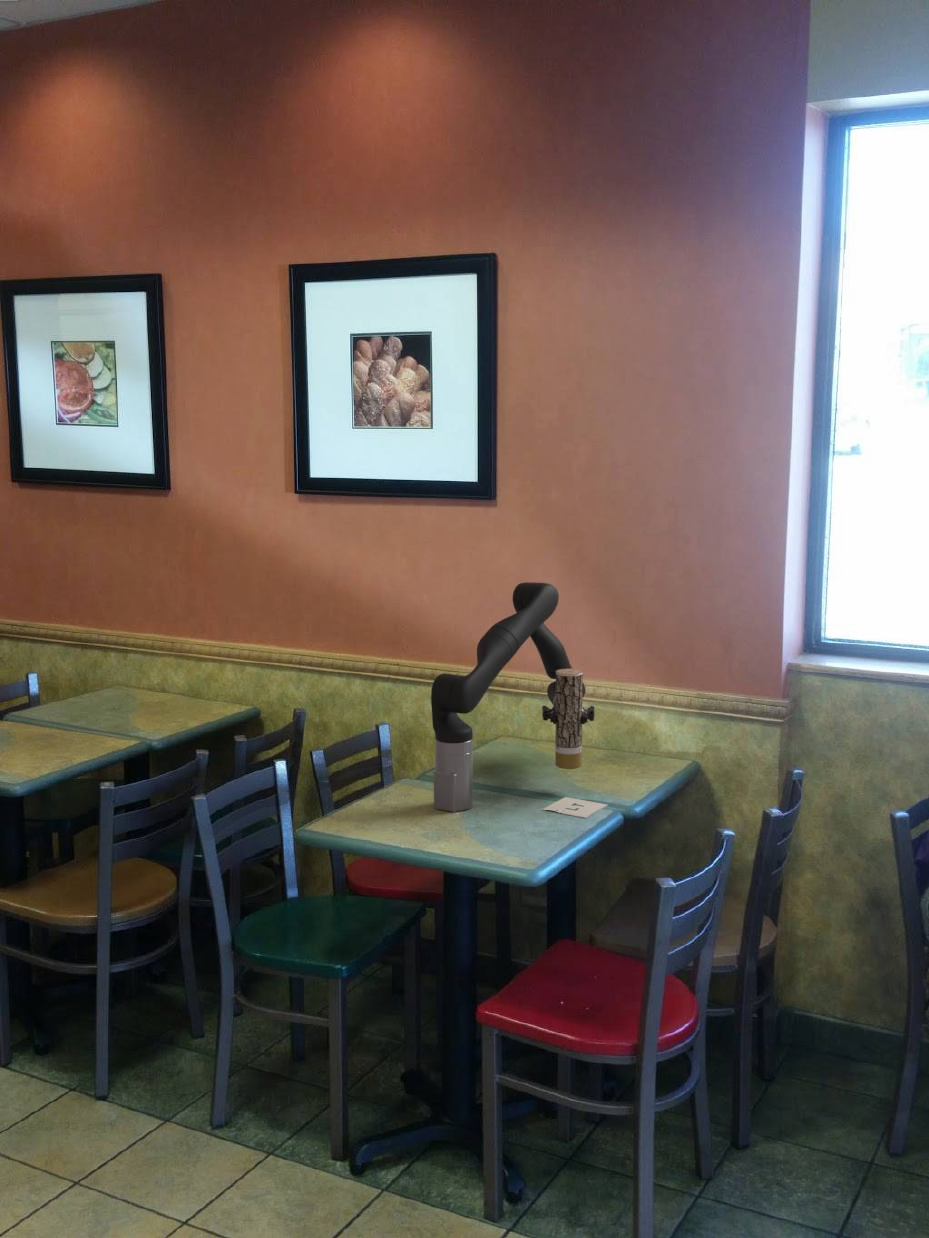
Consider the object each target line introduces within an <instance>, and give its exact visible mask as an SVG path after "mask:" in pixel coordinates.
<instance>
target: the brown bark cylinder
mask: <svg viewBox="0 0 929 1238" xmlns="http://www.w3.org/2000/svg"><path fill="white" fill-rule="evenodd" d="M555 681H556V724H555V741H554V742H555V748H554V749H555V766H556V767H557V768H558V769H562V770H563V769H565V770H575V769H580V767H582V764H583V757H582V756H583V755H582V754H583V753H582V751H583V724H582V707H583V698H582V683H584V682H583V681H584V680H583V670H581V669H576V668H573V669H560V670H557V671H556V679H555Z"/></svg>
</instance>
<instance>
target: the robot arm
mask: <svg viewBox="0 0 929 1238" xmlns="http://www.w3.org/2000/svg"><path fill="white" fill-rule="evenodd" d="M559 597H560V595H559V592H558V589H557V588H556V587H555V586H554V585H553V584H550V583H547V582H529V581H528V582H527V581H526V582H525V581H524V582H520V583H518V584H517V585H516V586H515V588H514V590H513V593H512V605H513V608H514V610H515V613H513V614H512V615H510V616H507V617H505V618H502V619H501V620H499V621H498V622H496V623H494V624H493V625H492V626H491V627H490V628H488V630H487V631H486V632H485V633H484V635H482V637H481V638H480V639H479V641H478V643H477V646H476V647H477V648H476V660H477V663H476V665H475V667H474V668H473V670H472V671H471V672H470V673H469V674H467V675H459V674H451V673H441V674H438V675H437V676H436V677H435V679H434V680H433V682H432V686H431V692H430V695H431V696H430V700H431V702H430V704H431V718H432V729H433V732H434V735H435V741H434V744H435V749H434V750H435V751H434V752H435V754H434V755H435V761H434V762H435V763H434V764H435V770H434V771H433V809H436V810H440V811H441V810H442V811H445V812H446V811H447V812H451V813H456V812H459V811H460V812H461V811H466V810H470V809H472V808H473V805H474V804H473V803H474V802H473V801H474V799H473V797H474V792H473V791H474V790H473V789H474V788H473V787H474V785H473V778H474V776H473V769H474V768H473V766H474V765H473V764H474V763H473V756H474V754H473V753H474V750H473V749H474V748H473V746H474V745H473V743H474V742H473V738H474V736H473V728H472V727H471V726H470V724H468V723H466V722H465V721H464V720H462V719H461V718H460V716H459V715H458V714H469V713H471V712H472V711H474V709H475V708H477V706H478V705H479V704H480V702H481V700H482V699H483V697H484V695H486V693H487V691H488V689H489V688H490V686H491V685H492V683H493V682H494V681H495V679H496V678H497V676H499V674H500V673H501V671H502V670H503V669H504V668H505V667H506V665H507V664H508V663H509V662H510V661H511V660H512V658H513V657H514V656H515V654H517V652H518V651H519V650H520V649H521V647H522V646H523V645H524V643H525V642H527V640H528V639H529V638H531V640H532V642H533V643H534V645H535V647H536V649H537V652H538V654H539V656H540V660H541V662H542V665H543V668H544V670H545V673H546V675H547V677H548V678H549V679H552V680H555V681H552V682H550V683H549V684H548V685H547V689H546V695H547V697H548V700H549V701H550V702H551V704H552V708H550V707H549V706H547V705H542V707H541V711H542V712H541V717H542V720H543V721H545V722H547V721H548V720H549V721H550V723H552V724H553V725H556V671H557V670H560V669H574V668H573V666H572V665H571V663H570V660H569V658H568V655H567V651H566V649H565V646H564V645H563V644H562V642H561V641H560V639H559V638H558V637H557V636H556V635H555V634H554V633H553V632H552V631H551V630H550V629H549V628H548V627H547V625H546V624H545V622H546V621H547V620H548V619H549V618H550V617H552V615H553V614H554V612H555V610H556V609H557V606H558V603H559ZM585 695H586V686H585V684H584V682H583V683H582V699H583V698H584V697H585ZM588 720H589V721H590V722H593V721H594V720H595V706H594V705H591V706H589V707H587V708H585V707H584V706H582V725H586V724H587V723H588V722H589V721H588Z"/></svg>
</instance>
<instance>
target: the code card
mask: <svg viewBox="0 0 929 1238" xmlns="http://www.w3.org/2000/svg"><path fill="white" fill-rule="evenodd" d="M608 806H609V805H608V804H607V803H601V802H594V801H589V800H584V799H578V798H573V797H569V796H565V797H563V798H561V799H559V800H557V801H555V802H553V803H551V804H549V805H548V806H546V807H544V808H542V809H541V810H542V811H545V810H553V811H556V810H558V811H556V812H558V813H557V814H560V813H562V815H567V816H572V817H577V818H583V819H587V818H588V817H590V816H592V815H594V814H596V813H597V812H599V811H600V810H602V809H605V808H606V807H608ZM563 810H564V811H563Z"/></svg>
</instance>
